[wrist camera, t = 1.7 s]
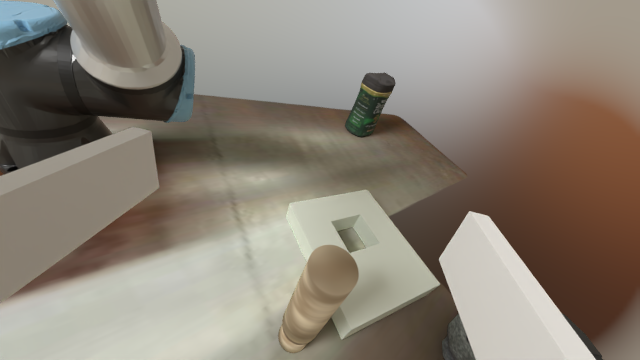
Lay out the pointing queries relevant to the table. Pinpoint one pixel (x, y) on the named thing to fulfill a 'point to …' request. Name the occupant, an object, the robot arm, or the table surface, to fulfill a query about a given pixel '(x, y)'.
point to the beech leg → (317, 295)
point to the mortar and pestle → (457, 342)
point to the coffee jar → (369, 103)
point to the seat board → (363, 256)
